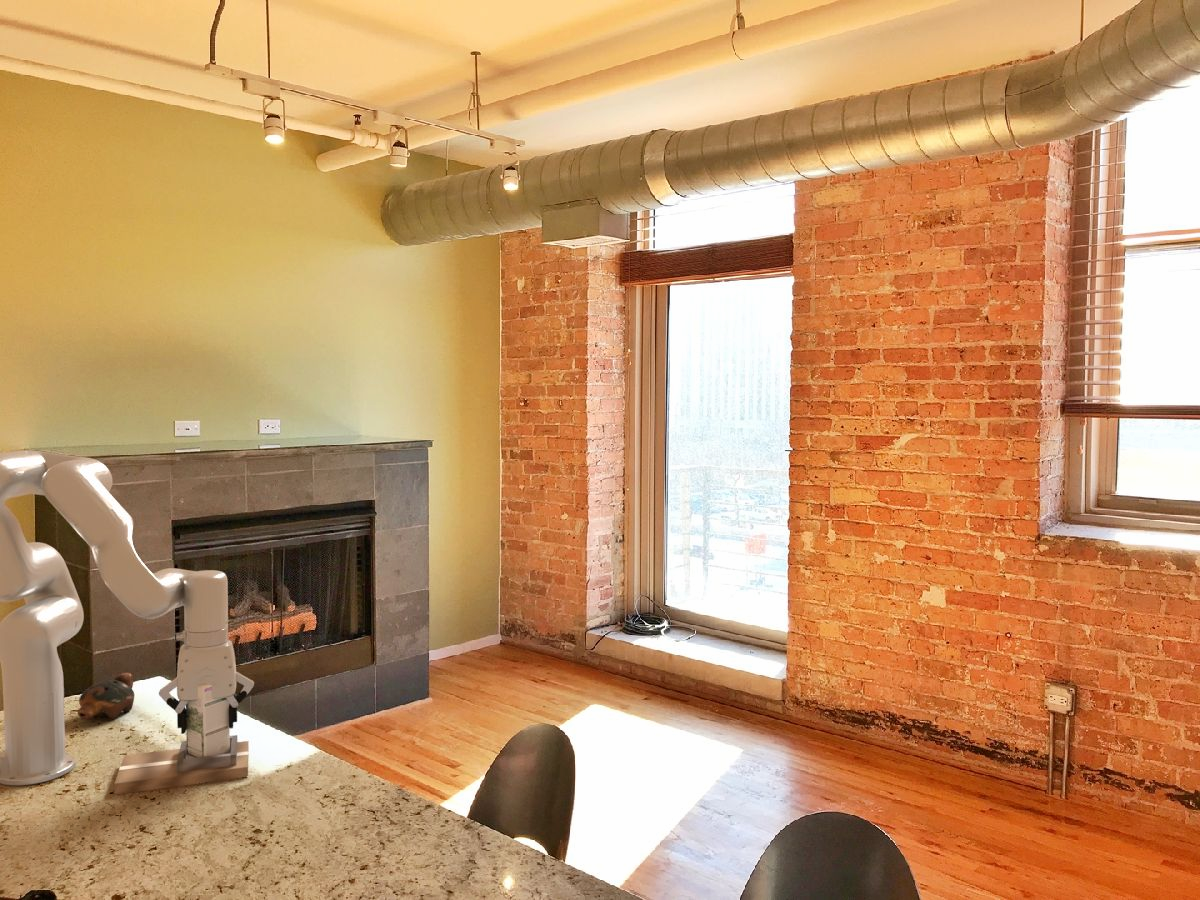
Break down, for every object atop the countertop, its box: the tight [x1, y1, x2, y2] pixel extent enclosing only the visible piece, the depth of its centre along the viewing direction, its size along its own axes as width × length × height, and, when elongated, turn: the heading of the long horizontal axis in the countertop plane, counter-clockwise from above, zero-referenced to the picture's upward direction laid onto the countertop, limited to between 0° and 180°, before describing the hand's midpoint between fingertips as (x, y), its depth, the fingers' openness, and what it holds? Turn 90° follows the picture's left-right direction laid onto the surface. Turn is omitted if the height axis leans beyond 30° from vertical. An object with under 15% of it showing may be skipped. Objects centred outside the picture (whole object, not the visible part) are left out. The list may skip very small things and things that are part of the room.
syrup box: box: [185, 683, 231, 757], centre depth 170 cm, size 6×6×14 cm
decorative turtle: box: [77, 672, 135, 721], centre depth 197 cm, size 10×15×8 cm, turn 175°
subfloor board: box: [113, 735, 249, 795], centre depth 169 cm, size 22×13×4 cm, turn 111°
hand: (207, 728), depth 170 cm, fingers closed on syrup box, 7 cm apart
